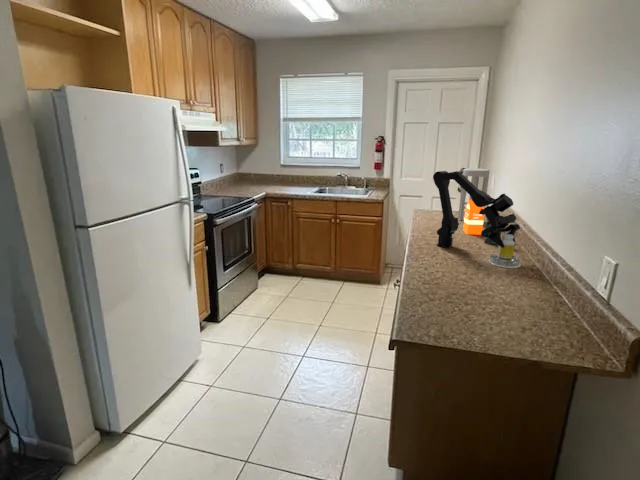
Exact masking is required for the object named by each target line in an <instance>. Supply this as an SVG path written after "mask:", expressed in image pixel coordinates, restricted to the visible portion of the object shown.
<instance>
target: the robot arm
mask: <svg viewBox="0 0 640 480" xmlns="http://www.w3.org/2000/svg"><path fill="white" fill-rule="evenodd" d="M432 178H433V183H434V185H435V187H436V188H437V190H438V193H439V200H440V201H439V202H440V205H441V210H442V219H441V227H439V228H438V229H437V230H436V233H437V236H438V239H437V240H438V241H437V244H436V246H437V247H440V248H441V247H442V248H448V249H449V248H451V247H452V246H453V242H454V237H453V235H454V234H455V232H456V231H457V230H458V229H459V226H460V223H459V220H458V217H455V216H454V214H453V213H454V212H453V208H452V202H451V197H450V191H449V190H450V189H449V186H450V182H451V180H453V181H455V182H456V183H457V184H458V185H459V186H460V187H461V188H463V189H464V190H465V191H466V194H468V195H469V196H471V199H472V201H473V202H474V204H475V205H476V206H477V207H484V206H485V208H484V209H481V210H480V212H479V214H482V215H484V217H486V221H487V220H488V222H487V224H488V225H490V226H488V227H486V226H485V228H483V229H482V231H481V235H480V236H481V237H482V238H485V237H487V238H489V239H490V240H492V241H494V242H495V243H496V244H495V245H498V247H499V246H501V247H502V248H503V247H504V244H503V242H502V236H501V237H500V232H501V233H504V234H510V235H513V236H514V238H513V241H514V242H515V243H516V237H515V234H516V232H518V231H519V230H520V229H521V226H520V224H518V223H515V221H516V220H517V216H516V215H515V213H510V214H508V215H505V216H504V215H500V213H503V212H505V211H506V210H508V209H509V208H511V207H513V205H514V201H513V199H512V198H511V197H509V196H508V195H507V194H506V193H502V194H500V195H499V196H498V197H496V198H493V197H492V196H491V195H490V194H488V192H487V193H485V192H483V191H482V189H479V188H478V189H477V188H476V187H475V186H474V185H473V184H472V183H471V180H469V179H467V178H466V177H465V176H464V175H463V173H462V171H460V170H456V171H451V172H448V171H446V170H440V171H436V172H435V173H434V174H433V176H432ZM499 212H500V213H499ZM488 234H489V236H488Z"/></svg>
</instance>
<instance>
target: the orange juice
mask: <svg viewBox="0 0 640 480" xmlns="http://www.w3.org/2000/svg"><path fill="white" fill-rule="evenodd" d="M467 202H468V203H467V204H466V206H465V207H466V208H465V209H464V216H463V227H462V232H463V231H464V232H463V233H465V234H466V235H479V236H482V235H481V231H483V230H484V222H485V221H484V220H485V214H484V215H482V214H479V212H480V210H481V209H484V207H477V206H476V205H475V204H474V202H473V201H472V200H469V199H468V201H467Z"/></svg>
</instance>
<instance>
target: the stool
mask: <svg viewBox="0 0 640 480" xmlns="http://www.w3.org/2000/svg"><path fill="white" fill-rule="evenodd" d="M462 174H463V175H464V176H465V177H466V178H467V179H468V178H469V177H471V180H470V182H471V183H472V184H473V185H474V186H475V187H476V188H477V189H479V188H478V187H479V182H480V181H479V180H480V178H482V187H481V191H483V192H485V193H487V194H488V186H489V178H490V177H489V176H490V170H489V169H486V168H477V167H476V168H474V167H473V168H472V167H471V168H468V167H467V168H464V169H463V173H462ZM468 180H469V179H468ZM466 196H467V192H466V191H465V190H464V189H463V188H462V187H461V189H460V199H459V206H458V207H459V208H458V217H457V218H458V219H460V220H463V221H464V214H465V208H466V206H465V205H467V203H468V201H469V200H472V199H471V196H470V195H469V197H468V198H469V199H468V201H466ZM484 208H486V206H484Z"/></svg>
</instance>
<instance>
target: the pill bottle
mask: <svg viewBox="0 0 640 480" xmlns="http://www.w3.org/2000/svg"><path fill="white" fill-rule="evenodd" d="M501 235H502V236H501V240H502V242H503V244H504V247H503V248H502V247H501V246H499V245H498V248H497V254H496V255H497V258H498V259H499V260H502V261H508V260H512V258H513V255H514V251H515V246H516V241H515V242H514V241H513V238H514V237H515V235H514V236H513V235H510V234H505V233H502V234H501Z"/></svg>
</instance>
